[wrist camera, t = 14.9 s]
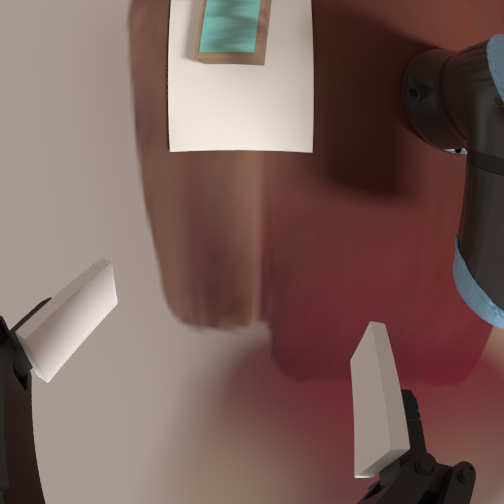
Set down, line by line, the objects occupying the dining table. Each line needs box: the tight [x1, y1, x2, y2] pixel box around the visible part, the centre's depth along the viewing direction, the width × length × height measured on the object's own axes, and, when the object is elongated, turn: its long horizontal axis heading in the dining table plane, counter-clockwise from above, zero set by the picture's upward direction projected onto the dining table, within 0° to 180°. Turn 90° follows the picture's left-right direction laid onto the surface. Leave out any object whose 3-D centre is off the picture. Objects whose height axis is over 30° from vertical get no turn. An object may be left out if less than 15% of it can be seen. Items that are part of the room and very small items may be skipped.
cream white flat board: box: [168, 0, 314, 153], centre depth 31 cm, size 28×20×1 cm
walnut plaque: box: [195, 0, 272, 66], centre depth 27 cm, size 8×4×12 cm
